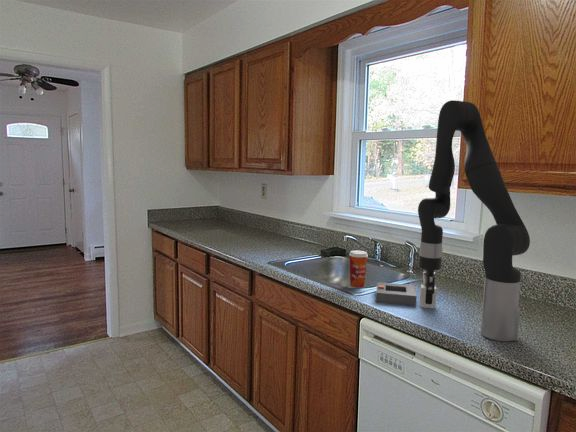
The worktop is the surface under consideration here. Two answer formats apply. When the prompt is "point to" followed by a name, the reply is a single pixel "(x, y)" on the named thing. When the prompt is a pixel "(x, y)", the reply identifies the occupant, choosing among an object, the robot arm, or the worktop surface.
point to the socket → (396, 293)
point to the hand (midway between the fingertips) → (427, 300)
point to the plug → (423, 297)
